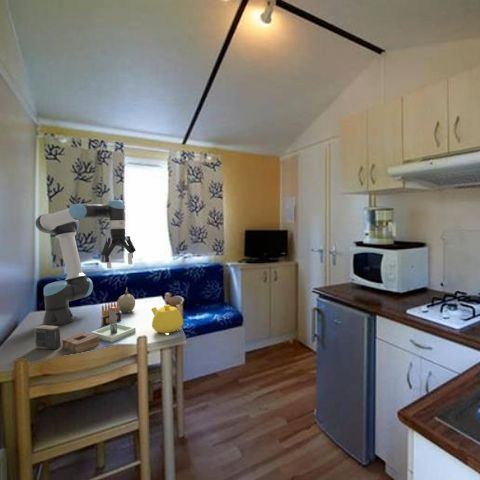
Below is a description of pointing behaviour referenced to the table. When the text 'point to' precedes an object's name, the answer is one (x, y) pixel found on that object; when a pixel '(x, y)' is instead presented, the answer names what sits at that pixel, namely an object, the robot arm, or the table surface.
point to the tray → (121, 333)
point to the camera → (47, 337)
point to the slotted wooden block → (80, 342)
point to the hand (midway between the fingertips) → (120, 266)
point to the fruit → (126, 302)
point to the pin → (113, 320)
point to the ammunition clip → (106, 314)
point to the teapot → (166, 319)
